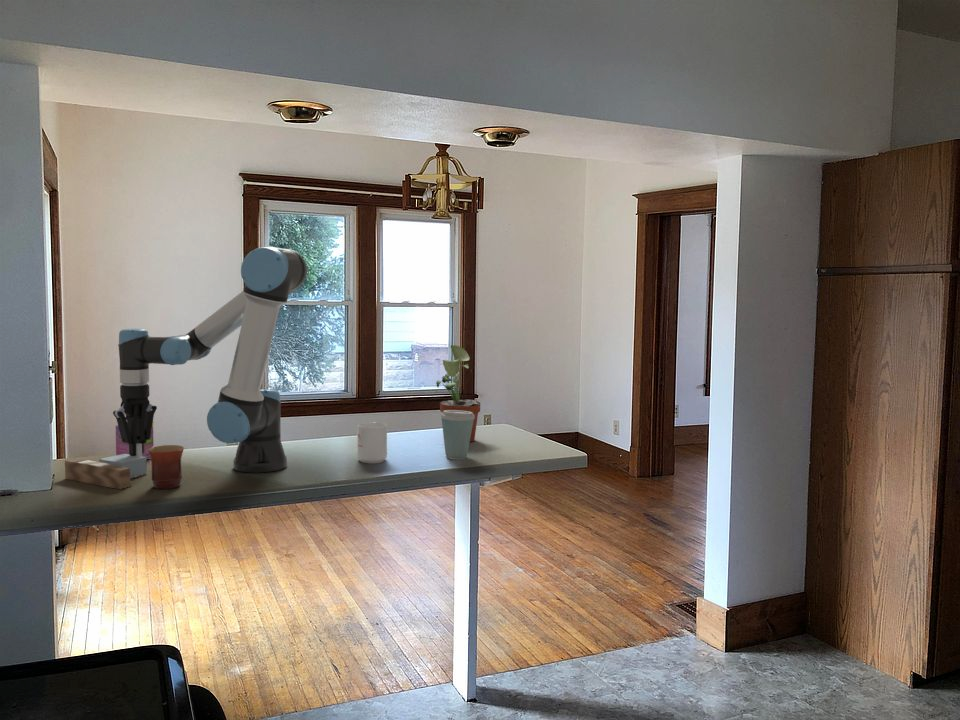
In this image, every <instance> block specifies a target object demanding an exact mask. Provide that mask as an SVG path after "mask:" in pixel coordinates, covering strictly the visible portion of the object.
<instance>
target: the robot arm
mask: <svg viewBox="0 0 960 720" xmlns="http://www.w3.org/2000/svg"><path fill="white" fill-rule="evenodd" d="M240 275H241V279H242V281H243V282H244V286H243V290H242V291H241V292H239V293H238V294H237V295H236V296H234V297H233V298H232V299H230V300H229V301H228V302H226V303H225V304H224V305H223V306H222V307H221V306H220V308H218V309H217V310H216V311H215V312H213V313H212V314H211V315H209V316H208V317H206V318H205V319H204V320H203V321H201V322H200V323H199V324H197V325H196V326H195V327H194V328H193V329H191V330H190V331H189V332H186V334H182V335H181V334H180V335H172V336H149V331H148V330H147V329H146V328H124V329H121V330H120V331H118V332H119V333H118V345H117V347H118V355H119V383H120V386H119V390H120V391H119V395H120V399H121V402H120V407H119V408H118V409H117V410H113V412H112V415H113V416H114V417H115V419H116V423H117V425H118V427H119V431H120V435H121V439H122V442H123V443H127V444H129V454H130V455H131V456H135V455H136V456H142V454H143V453H144V443H146V442H147V441H146V440H149V439H150V435H151V429H152V423H153V424H154V417H155V414H156V411H157V409H158V408H157V407H158V406H156V405H152V404H151V403H150V400H149V397H150V384H148V383H149V382H150V367H149V365H150V364H154V365H155V364H157V365H170V366H177V365H185V364H186V363H187V362H188V361H197V360H201V359H202V358H206V357H207V356H208V355H210V352H211V350H212V349H213V348H214V347H215V346H216V345H218V344H219V343H221V342H222V341H223V340H225V338H227V337H229V336H230V335H231V334H232V333H234V332H235V331H236V330H237V329H239V328H240V331H239V335H238V339H237V344H236V347H235V352H234V355H233V356H234V357H233V361H232V365H231V369H230V373H229V378H228V382H227V384H226V385H224V386H223V387H221V389H220V391H219V396H218V400H217V402H216V403H215V404H213V405H212V406H211V407H210V408H209V410H208V412H207V415H206V425H207V428H208V430H209V431H210V433H211V435H212V436H213V437H214V438H215V439H216V440H217V441H220V442H221V443H225V444H234V443H235V444H236V443H238V446H237V449H236V453H235V457H234V459H233V469H234V470H235V471H237V472H241V473H242V472H243V473H251V474H252V473H259V474H260V473H269V472H276V471H280V470H283V469H285V468H287V466H288V458H287V455H286V454H285V450H284V446H283V444H282V437H281V435H282V434H281V432H282V431H281V430H282V428H281V422H282V421H281V417H282V416H281V404H282V402H281V395H280V394H281V393H280V392H279V390H276V389H261V387H262V383H263V380H264V375H265V370H266V367H267V362H268V358H269V355H270V354H269V353H270V350H271V346H272V341H273V338H274V337H273V336H274V333H275V329H276V324H277V319H278V316H279V311H280V308H281V307H282V306H283V305H285V304H287V303H288V299H289V295H291V294H292V293H293V292H295V291H296V290H298V289H299V288H300V287H301V286H302V285H303V283H304V282H305V280H306V278H307V276H308V267H307V262H306V259H305V258H304V257H303V256H302V255H301V254H300V253H299V252H297V251H295V250H293V249H291V248H281V247H276V246H263V247H262V246H261V247H257V248H255V249H253V250H251V251H250V252H249V253H247V254H246V255H245V257H244V258H243V260H242V263H241V266H240Z"/></svg>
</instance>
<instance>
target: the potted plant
mask: <svg viewBox="0 0 960 720" xmlns="http://www.w3.org/2000/svg"><path fill="white" fill-rule="evenodd" d="M450 349H451V351H452V354H453V356H454V357H453V358H454V360H449V359H448V360H447V359H443V360H442V364H443V367H444V370H445V372H446V373H445V375H443V376H442V377H441V380H439V379H438V380H437V381H436V382H435V384H436V387H437V388H438V389H439V386H440V384H443V386H444V388H445V389H446V390H447V391H448V393H449V394H450V396H451V400H449V399H448V400H443V401H440V402H439V408H440V409H439V411H440V412H441V413H443V411H444V410H461V411H469V412H472V413H473V414H474V415H475V418H474V420H473V426H472V431H471V437H470V442H469V443H471V442H475V440H476V430H477V424H478V418H479V413H480V412H481V402H480V401H477V400H474V399H460V391H459V389H460V388H459V387H460V380H461V375H462V369H463V367H464V368H465V369H469V368H470V366H469V362H467V361H470V359H471V357H470V355H469V354H468V352H467V350H465V349H464V348H463V347H461V346H459V345H456V344H455V345H453V344H451V345H450ZM460 362H466V363H465V364H464V363H460ZM450 377H452V378H450ZM451 382H452V383H451ZM453 388H454V389H453Z"/></svg>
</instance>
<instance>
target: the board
mask: <svg viewBox="0 0 960 720" xmlns="http://www.w3.org/2000/svg"><path fill="white" fill-rule="evenodd" d="M64 475H65V476H64V477H65V480H71V481H76V482H81V483H85V484H91V485H97V486H102V487H107V488H113V489H116V490H117V489H118V490H123V488H124V489H127V487H128V488H130V486H131V478H130V468H126V467H121V466H115V465H111V464H107V463H102V462H99V461H96V460H89V459H88V460H86V459H80V458H72V459H71V458H70V459H67V460H64Z"/></svg>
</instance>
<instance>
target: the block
mask: <svg viewBox="0 0 960 720" xmlns="http://www.w3.org/2000/svg"><path fill="white" fill-rule="evenodd" d="M98 462H102V463H107V464H111V465H115V466H121V467H126V468H130V479H133V478H132V477H134V478H136V477H135V476H138V477H140V476H139V475H142V474H146V473H147V472H148V470H147V469H148V468H147V460H146V457H142V456H136V455H135V456H131V455H130V454H120V455H116V454H114V455H112V456H107V457H102V458H99V459H98ZM147 474H148V473H147ZM147 474H146V475H147ZM142 476H143V475H142Z"/></svg>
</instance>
